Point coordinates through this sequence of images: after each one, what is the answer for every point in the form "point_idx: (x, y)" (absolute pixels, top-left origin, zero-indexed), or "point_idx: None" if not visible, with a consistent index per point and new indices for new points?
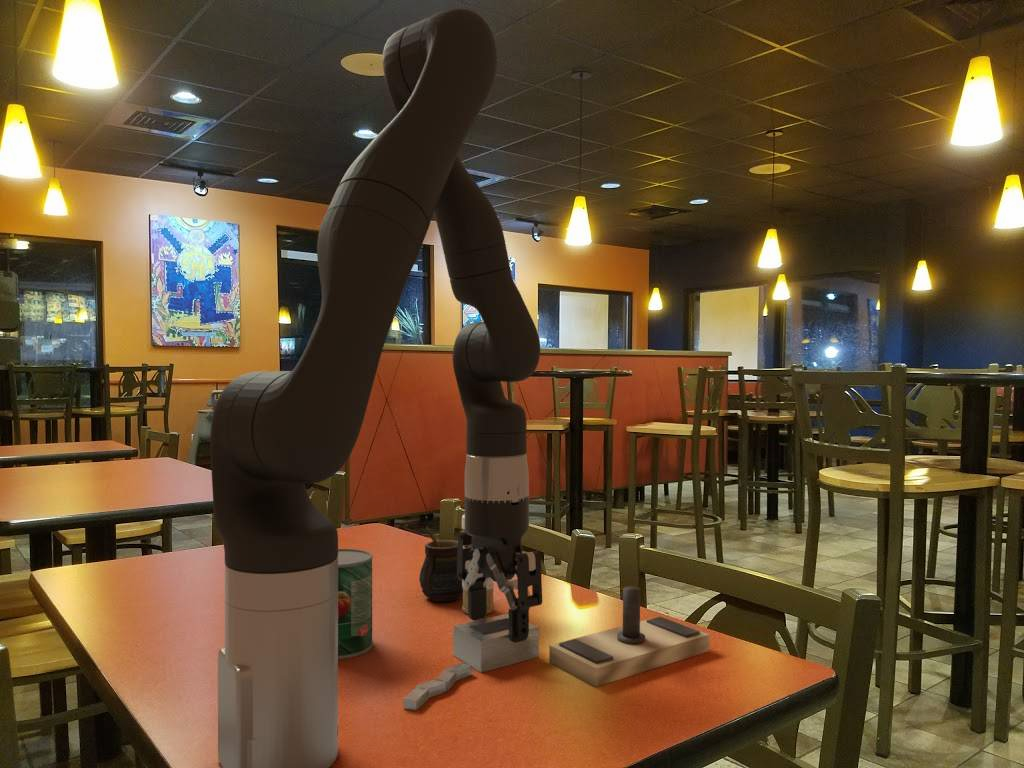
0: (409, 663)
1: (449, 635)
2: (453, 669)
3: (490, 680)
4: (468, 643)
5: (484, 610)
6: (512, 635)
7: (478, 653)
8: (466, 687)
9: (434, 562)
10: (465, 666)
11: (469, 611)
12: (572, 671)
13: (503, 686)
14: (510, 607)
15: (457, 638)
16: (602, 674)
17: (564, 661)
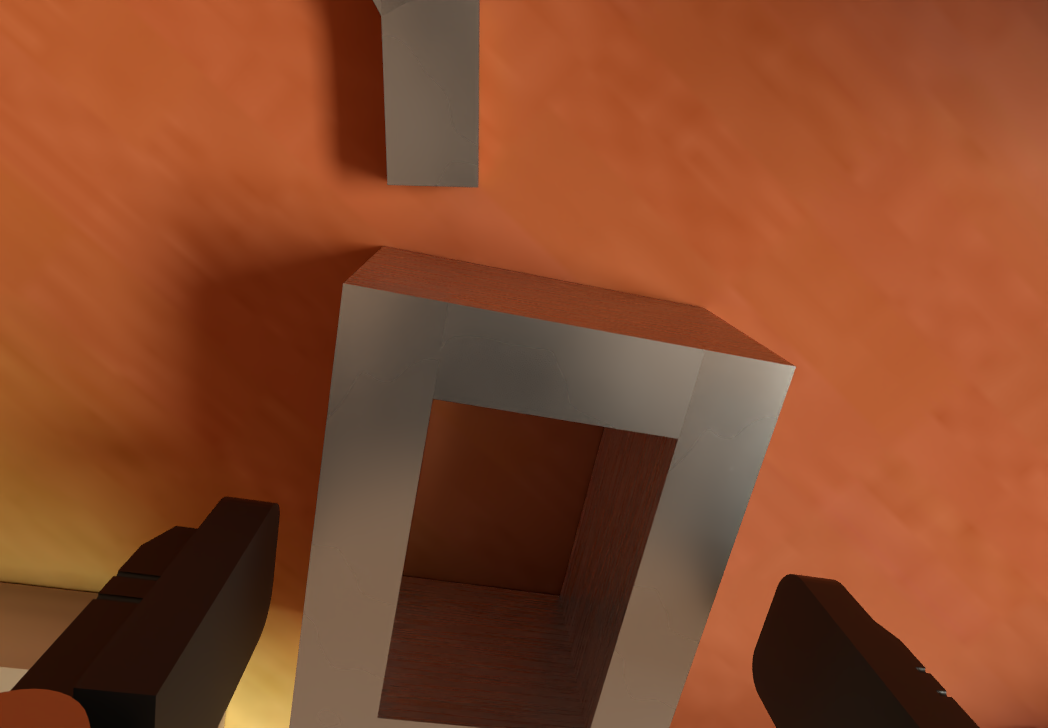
0: (841, 8)
1: (926, 491)
2: (425, 29)
3: (251, 206)
4: (544, 302)
5: (777, 704)
6: (207, 520)
7: (401, 270)
8: (263, 6)
9: None
10: (406, 135)
11: (851, 611)
12: (6, 596)
13: (123, 199)
14: (63, 712)
15: (699, 330)
16: None
17: (61, 628)
